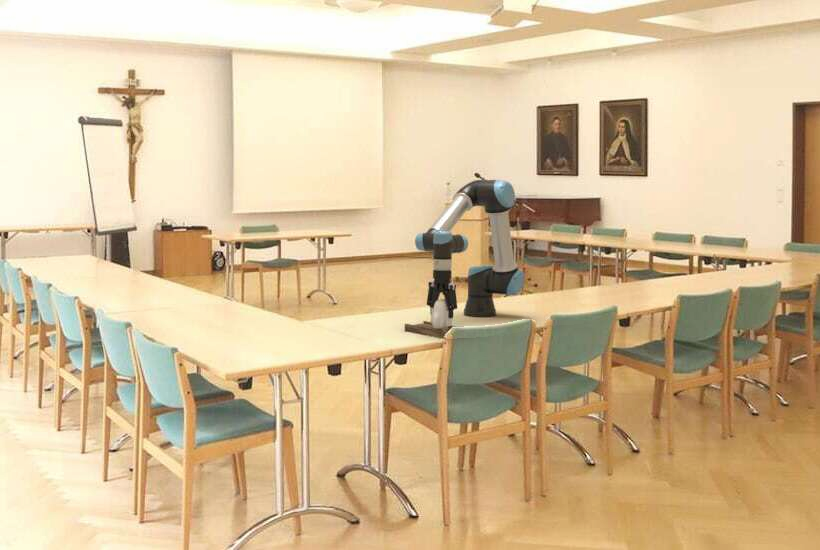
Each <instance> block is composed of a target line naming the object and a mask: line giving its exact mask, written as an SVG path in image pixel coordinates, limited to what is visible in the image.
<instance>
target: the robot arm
mask: <svg viewBox="0 0 820 550" xmlns="http://www.w3.org/2000/svg"><path fill="white" fill-rule="evenodd" d="M515 193H516V192H515V189H514V187H513V184H511V182H509V181H507V180H501V179H476V180H472V181H470V182H468V183H466V184H465V185H464V186H462V187H460V189H459V190H458V191H457V192H456V193H455V194H454V195H453V197H452V201H451V202H450V203H449V205H448V206H447V207H446V208H445V209H444V210H443V211H442V213H441V214H440V215H439V217H438V218H437V219H436V220H435V222H434V223H433V224H432V225H431V226H430V228H429V229H428V230H427V231H426V232H421V233H418V234H417V235H416V237H415V239H414V245H415V248H416V249H417V250H418V251H422V252H433V253H432V254H433V257H432V260H433V261H432V262H433V264H432V267H433V270H432V279H433V281H429V282H428V289H427V290H428V291H427V298H426V306H429V308H430V310H429V311H430V312H429V313H430V316H431V317H430V322H431V323H432V318H433V311H434V304H435V302H436V301H437V300H439V299H440V295H441V293H442V295H443V297H444V299H445V301H446V304H447V308H448V309H447V310H446V326H453V318H454V310H457V309H458V301H457V292H456V289H457V285H456V284H452V283H451V280H452V266H453V265H452V263H453V261H452V260H453V259H452V257H453V254H461V253H463V252H465V251H466V250H467V249H468V247H469V240H468V238H467V237H466V236H465V235H464V234H458V233H457V234H453V232H452V231H451V230H452V229H453V228H454V227H455V226H456V225H457V224H458V222H459V220H460V219H461V218H462V217H463V216H464V215H465V213H466V212H469V211H471V209H472V208H473V207H484V213H486V214H487V215H488V218H489V227H490V234H491V242H492V250H493V258H494V259H493V260H494V264H487V265H486V264H485V265H477V266H476V265H475V266H470V267H469V269H468V272H467V273H468V274H467V299H466V303H465V306H464V308H463V315H465V316H469V317H475V318H476V317H478V318H485V317H489V318H490V317H494V316H497V309H496V308H495V307H496V305H495V302H494V299H493V298H494V297H493V296H494V295H504V296H517V295H519V294H520V293H521V291H522V289H523V288H524V282H525V274H524V272H523V271H522V270H521V269H519V267H518V266H519V265H518V263H516V262H515V261H514V251H513V244H512V234H511V225H510V218H509V213H510V211H511V209H512V206H514V204H515V199H516V194H515ZM432 324H433V323H432Z"/></svg>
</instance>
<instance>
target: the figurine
mask: <svg viewBox="0 0 820 550" xmlns="http://www.w3.org/2000/svg"><path fill="white" fill-rule="evenodd" d="M447 309H448V308H447V304H446V301H445V298H438V300H437V301H436V302H435V304H434V311H433V318H432V323H433V328H438V329H445V328H448V326H446V310H447Z"/></svg>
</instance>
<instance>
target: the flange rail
mask: <svg viewBox="0 0 820 550" xmlns="http://www.w3.org/2000/svg"><path fill="white" fill-rule="evenodd" d="M452 327H456V326H454V325H452V326H448V328H445V329H438V328H433V324H432V323H431V321H428V320H423V322H422V323H417V324H409V323H404V332H408V333H414V334H419V335H422V336H427V335H429V336H428V337H432V336H434V338H437V337H438V338H437V339H445V338H444V336H445V334H446V333H447V332H448V331H449V330H450V329H451V328H452Z"/></svg>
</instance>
